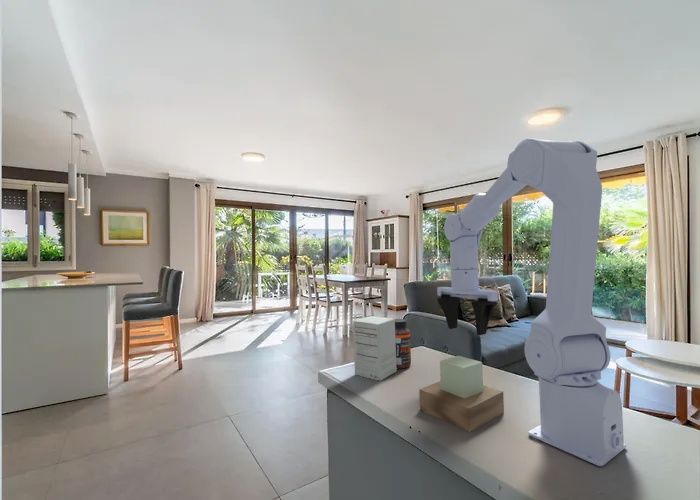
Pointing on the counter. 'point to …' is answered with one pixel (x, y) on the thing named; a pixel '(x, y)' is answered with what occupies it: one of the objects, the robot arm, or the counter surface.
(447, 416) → the walnut block
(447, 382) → the sage cube
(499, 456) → the counter surface
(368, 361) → the supplement box
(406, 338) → the supplement bottle
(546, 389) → the robot arm
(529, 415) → the counter surface
